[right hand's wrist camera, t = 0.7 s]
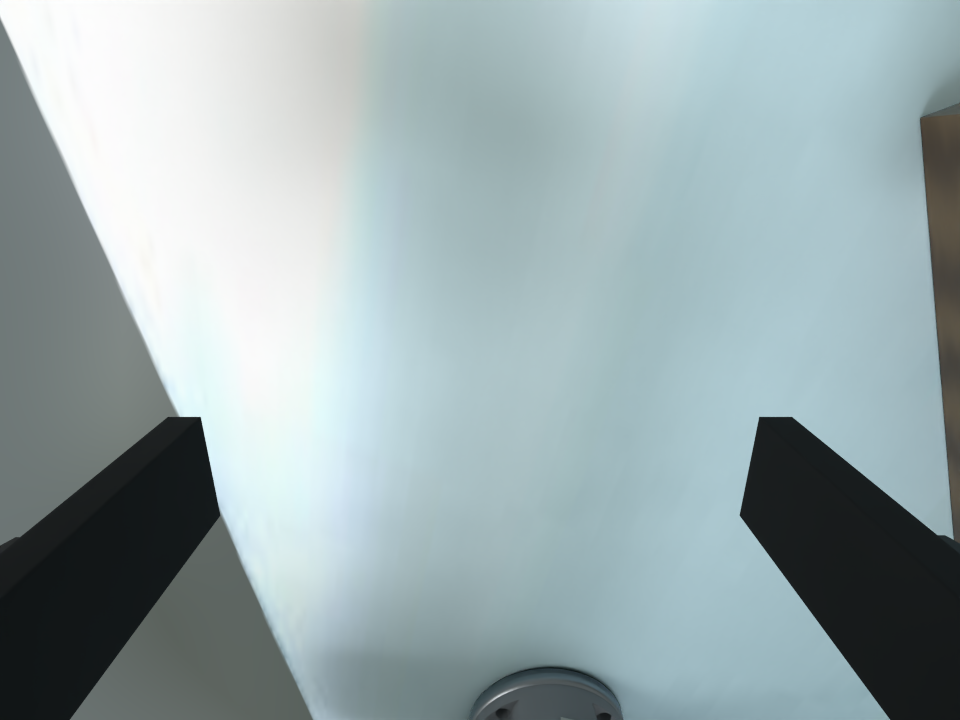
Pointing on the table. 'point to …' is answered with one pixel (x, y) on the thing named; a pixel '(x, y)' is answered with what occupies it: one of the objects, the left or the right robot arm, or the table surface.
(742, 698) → the table surface
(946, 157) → the beam
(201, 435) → the right robot arm
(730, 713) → the table surface
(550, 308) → the table surface
